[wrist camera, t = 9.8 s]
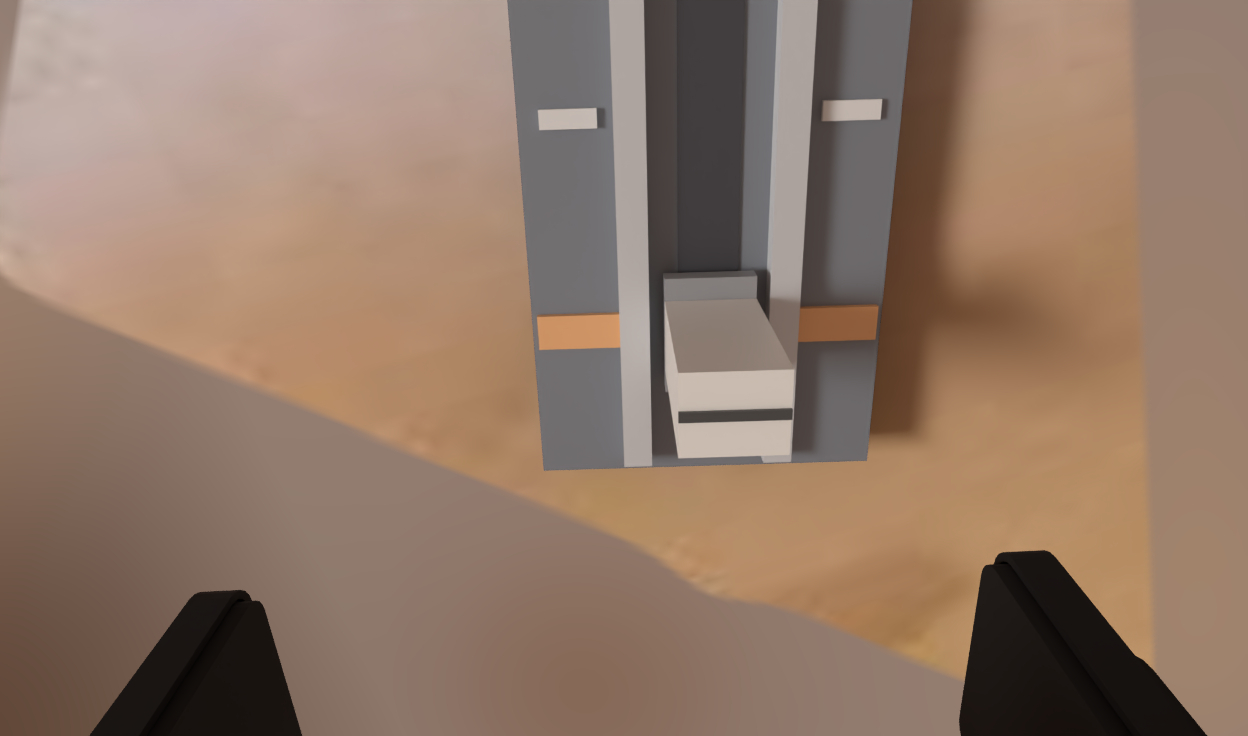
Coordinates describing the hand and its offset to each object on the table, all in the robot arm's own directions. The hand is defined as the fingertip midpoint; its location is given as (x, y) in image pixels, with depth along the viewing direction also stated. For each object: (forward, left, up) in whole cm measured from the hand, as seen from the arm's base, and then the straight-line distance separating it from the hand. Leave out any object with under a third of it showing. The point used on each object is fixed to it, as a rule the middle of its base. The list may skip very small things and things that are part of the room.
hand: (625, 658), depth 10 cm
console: (-4, +3, -20) cm, 20 cm away
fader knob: (+2, +3, -17) cm, 18 cm away
